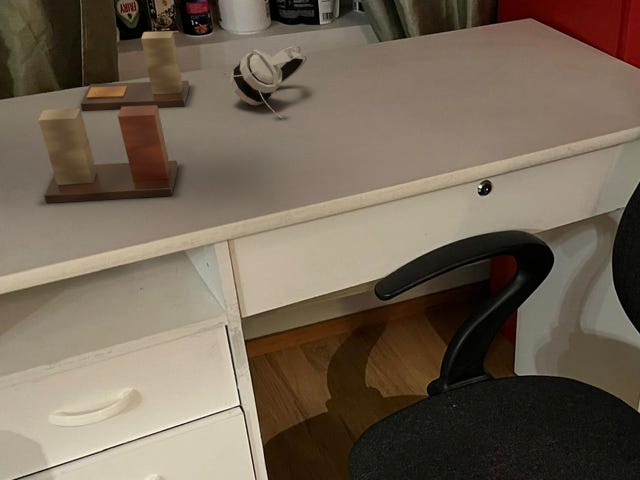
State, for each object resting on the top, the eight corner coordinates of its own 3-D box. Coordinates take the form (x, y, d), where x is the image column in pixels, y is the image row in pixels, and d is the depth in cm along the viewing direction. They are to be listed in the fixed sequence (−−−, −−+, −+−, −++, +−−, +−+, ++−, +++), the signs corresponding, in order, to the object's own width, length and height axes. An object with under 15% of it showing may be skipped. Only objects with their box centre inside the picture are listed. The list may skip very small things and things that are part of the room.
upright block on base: (82, 110, 122) (65, 46, 117) (91, 90, 128) (76, 28, 123) (184, 106, 124) (172, 42, 119) (189, 86, 131) (178, 25, 125)
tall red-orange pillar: (133, 181, 103) (117, 116, 98) (136, 170, 105) (121, 106, 100) (168, 179, 103) (154, 114, 98) (170, 168, 105) (157, 105, 101)
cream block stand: (46, 203, 100) (23, 128, 94) (60, 173, 106) (39, 102, 100) (171, 196, 102) (156, 122, 96) (178, 167, 108) (164, 97, 103)
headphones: (184, 120, 119) (278, 82, 133) (241, 137, 115) (331, 97, 130) (176, 60, 114) (274, 28, 129) (234, 76, 110) (329, 41, 125)
